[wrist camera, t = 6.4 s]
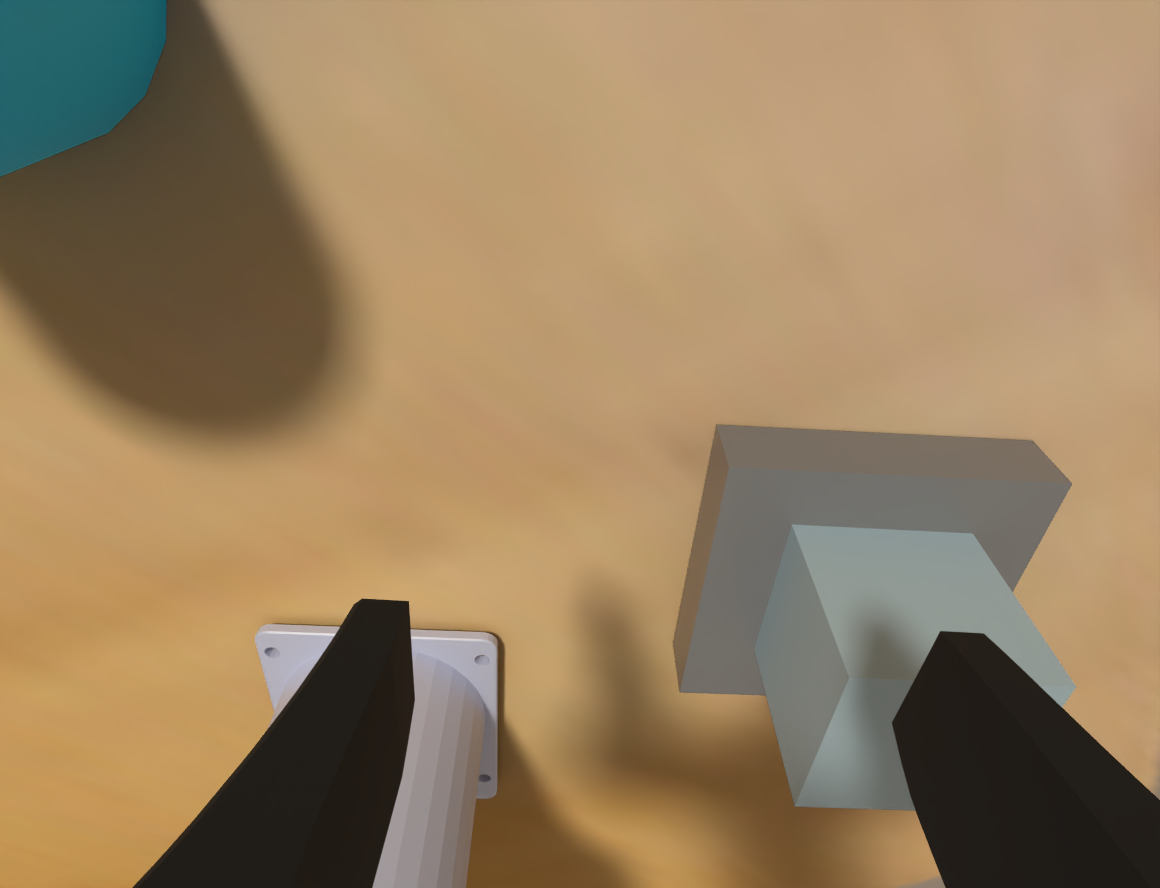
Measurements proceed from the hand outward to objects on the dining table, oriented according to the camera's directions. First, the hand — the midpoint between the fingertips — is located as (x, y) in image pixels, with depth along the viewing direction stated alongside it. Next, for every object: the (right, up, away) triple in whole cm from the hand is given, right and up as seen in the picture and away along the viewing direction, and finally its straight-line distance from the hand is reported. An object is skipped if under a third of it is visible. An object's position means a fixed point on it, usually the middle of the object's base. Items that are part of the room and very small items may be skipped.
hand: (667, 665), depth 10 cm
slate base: (+7, 0, +13) cm, 15 cm away
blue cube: (+7, -1, +11) cm, 13 cm away
